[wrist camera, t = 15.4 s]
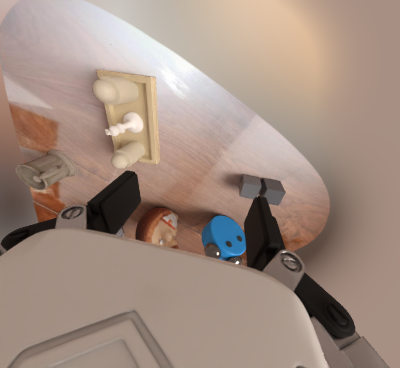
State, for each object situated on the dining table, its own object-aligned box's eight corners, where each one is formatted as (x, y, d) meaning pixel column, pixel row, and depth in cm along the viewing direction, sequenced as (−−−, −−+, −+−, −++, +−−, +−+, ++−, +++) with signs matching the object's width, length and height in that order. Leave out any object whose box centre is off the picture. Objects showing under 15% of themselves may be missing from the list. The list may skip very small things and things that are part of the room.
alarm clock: (204, 218, 54) (196, 258, 41) (213, 207, 50) (207, 248, 38) (235, 233, 55) (236, 276, 43) (245, 224, 52) (250, 268, 39)
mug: (62, 177, 55) (25, 198, 45) (41, 152, 50) (-5, 169, 40) (91, 171, 51) (58, 193, 41) (72, 144, 46) (28, 160, 36)
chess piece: (140, 136, 39) (116, 150, 31) (122, 126, 39) (93, 137, 30) (145, 119, 37) (121, 129, 28) (127, 107, 36) (96, 115, 28)
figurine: (186, 233, 60) (174, 272, 48) (148, 224, 61) (127, 259, 49) (189, 207, 52) (176, 246, 40) (146, 197, 53) (120, 232, 41)
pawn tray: (104, 70, 33) (58, 65, 24) (155, 77, 32) (127, 75, 23) (121, 154, 45) (94, 171, 36) (159, 161, 44) (141, 180, 35)
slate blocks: (243, 174, 41) (244, 184, 37) (280, 181, 40) (285, 192, 36) (238, 187, 44) (239, 198, 40) (273, 193, 43) (278, 205, 39)
